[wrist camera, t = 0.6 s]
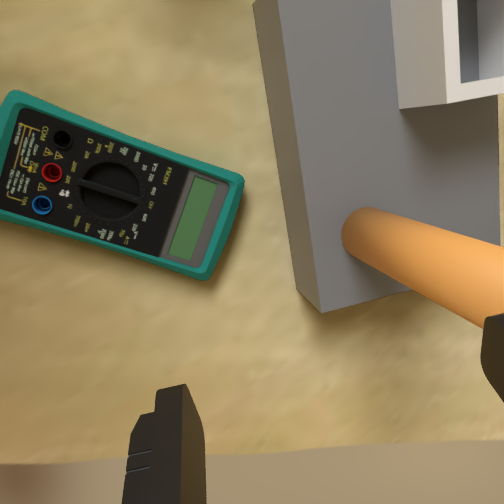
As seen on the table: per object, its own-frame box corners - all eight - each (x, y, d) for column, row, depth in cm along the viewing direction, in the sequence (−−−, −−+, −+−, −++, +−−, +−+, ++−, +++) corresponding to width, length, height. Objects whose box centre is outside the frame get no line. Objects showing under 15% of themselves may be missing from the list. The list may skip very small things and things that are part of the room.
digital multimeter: (10, 86, 27) (-5, 81, 24) (242, 175, 31) (252, 178, 28) (-22, 204, 28) (-41, 212, 25) (206, 274, 32) (212, 287, 30)
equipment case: (252, 4, 28) (303, -58, 19) (455, -23, 31) (584, -90, 22) (296, 288, 34) (352, 343, 25) (467, 246, 36) (574, 282, 27)
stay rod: (338, 212, 28) (518, 282, 14) (386, 202, 28) (603, 259, 15) (344, 263, 28) (519, 372, 15) (391, 251, 29) (599, 347, 16)
